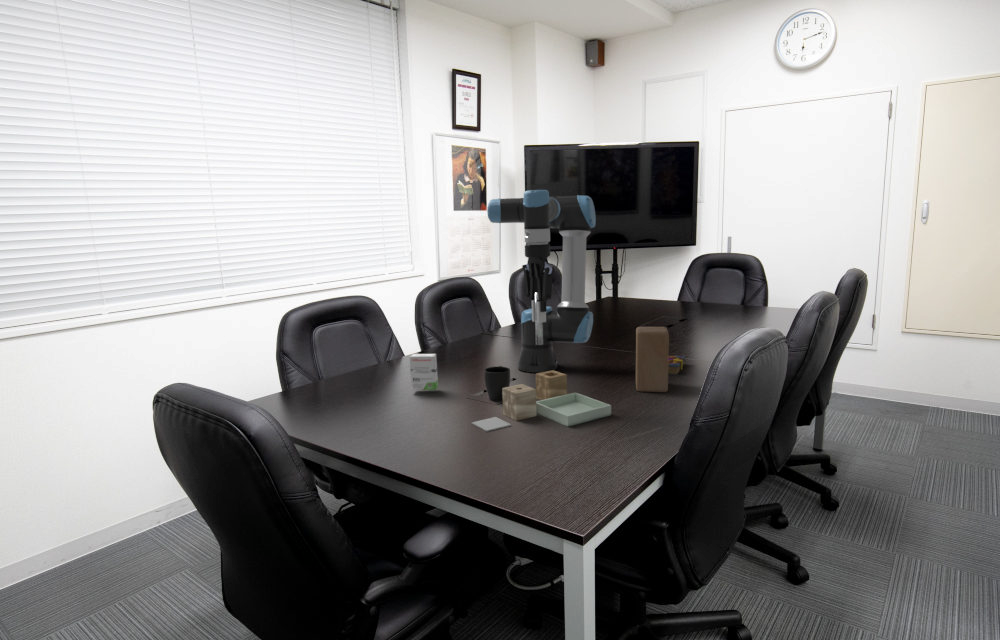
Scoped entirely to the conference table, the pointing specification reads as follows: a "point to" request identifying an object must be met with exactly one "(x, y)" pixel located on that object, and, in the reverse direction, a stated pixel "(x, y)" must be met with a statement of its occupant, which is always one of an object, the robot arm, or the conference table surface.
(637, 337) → the block
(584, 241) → the robot arm
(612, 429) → the conference table surface
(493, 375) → the mug
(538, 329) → the steel pin
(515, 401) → the maple block
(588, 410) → the sage tray
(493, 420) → the mat
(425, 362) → the ink box
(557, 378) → the oak block
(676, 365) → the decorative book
